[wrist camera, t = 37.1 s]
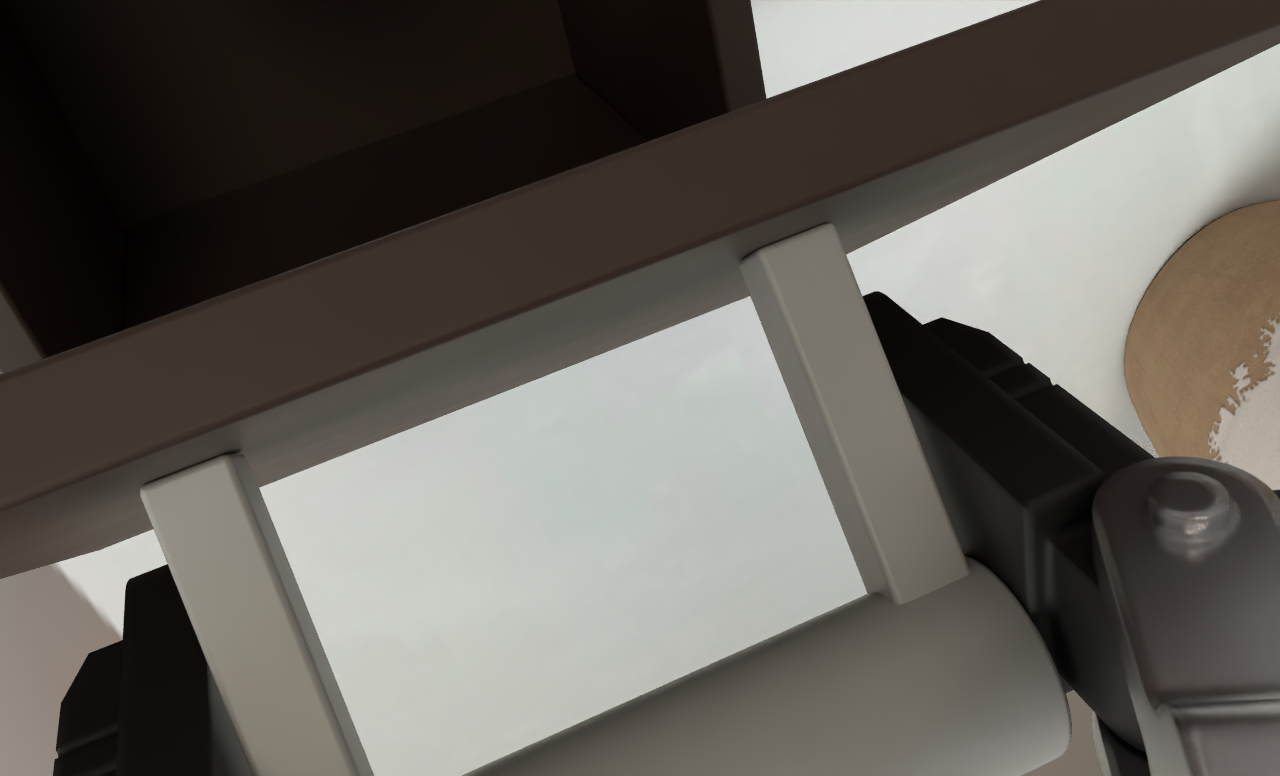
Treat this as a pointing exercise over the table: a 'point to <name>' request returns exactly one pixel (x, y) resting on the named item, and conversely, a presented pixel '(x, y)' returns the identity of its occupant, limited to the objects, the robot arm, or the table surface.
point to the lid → (591, 325)
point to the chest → (306, 132)
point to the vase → (1214, 346)
